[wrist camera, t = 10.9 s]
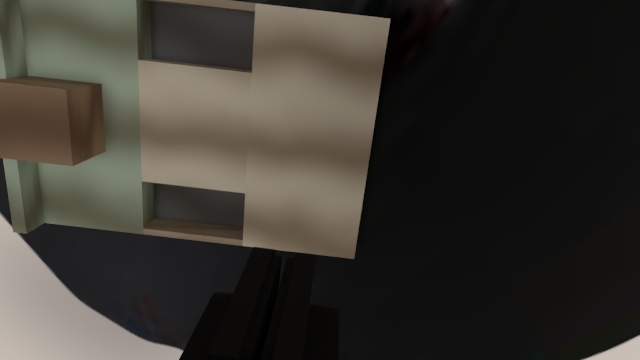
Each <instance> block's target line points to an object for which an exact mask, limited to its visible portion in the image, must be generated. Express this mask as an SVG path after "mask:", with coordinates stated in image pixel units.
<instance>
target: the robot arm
mask: <svg viewBox="0 0 640 360" xmlns="http://www.w3.org/2000/svg"><path fill="white" fill-rule="evenodd" d="M315 258H316V255H314V254H306V253H299V252H296V254H295V257H287V260H286V264H285V268H284V271H283V275H282V279H281V283H280V287H279V279H280V269H281V256H280V255H275V250H274V249H268V248H260V247H254V248H253V250H252V252H251V255H250V257H249V259H248V261H247V264H246V266H245V268H244V271H243V273H242V275H241V277H240V280H239V282H238V284H237V287H236V289H235V291H234V293H233V294H232V293H224V292H217V291H216V292H214V294H213V295H212V297H211V299H210V301H209V303H208V305H207V307H206V309H205V311H204V313H203V314H202V316H201V318H200V320H199V322H198V324H197V326H196V328H195V330H194V332H193V334H192V336H191V338H190V340H189V342H188V344H187V346H186V347H185V349H184V351H183V353H182V355H181V357H180V359H179V360H338V345H339V307H331V306H324V305H316V304H310V297H311V289H312V281H313V273H314V266H315ZM278 290H279V291H278Z"/></svg>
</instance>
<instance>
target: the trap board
mask: <svg viewBox="0 0 640 360" xmlns="http://www.w3.org/2000/svg"><path fill="white" fill-rule="evenodd" d="M389 25H390V19H389V18H380V17H371V16H363V15H354V14H345V13H336V12H328V11H319V10H310V9H301V8H293V7H284V6H275V5H266V4H257V3H249V2H240V1H231V0H0V79H5V78H16V77H26V76H37V77H46V78H55V79H64V80H72V81H81V82H90V83H99V84H102V100H103V117H104V133H105V150H106V152H103V153H101V154H99V155H97V156H95V157H92V158H90V159H88V160H86V161H83V162H81V163H79V164H77V165H75V166H66V165H57V164H48V163H39V162H31V161H22V160H13V159H5V158H3V162H4V169H5V176H6V183H7V190H8V197H9V204H10V211H11V218H12V225H13V232H17V233H26V234H27V233H28V232H30V231H32V230H33V229H35V228H37V227H38V226H40V225H42V224H43V223H51V224H60V225H68V226H77V227H85V228H94V229H102V230H111V231H120V232H128V233H137V234H145V235H154V236H163V237H171V238H180V239H188V240H197V241H205V242H214V243H223V244H231V245H240V246H248V247H260V248H268V249H274V250H283V251H291V252H300V253H309V254H317V255H326V256H334V257H343V258H351V259H354V256H355V249H356V243H357V236H358V230H359V223H360V216H361V210H362V203H363V197H364V190H365V183H366V177H367V170H368V164H369V157H370V151H371V144H372V137H373V131H374V124H375V118H376V111H377V104H378V98H379V91H380V85H381V78H382V72H383V65H384V58H385V52H386V45H387V39H388V32H389Z"/></svg>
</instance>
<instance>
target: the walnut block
mask: <svg viewBox="0 0 640 360" xmlns="http://www.w3.org/2000/svg"><path fill="white" fill-rule="evenodd" d="M103 152H106V150H105V133H104V117H103V100H102V84H99V83H90V82H81V81H72V80H64V79H55V78H46V77H37V76H26V77H16V78H5V79H0V158H5V159H13V160H22V161H31V162H39V163H48V164H57V165H66V166H75V165H77V164H79V163H81V162H83V161H86V160H88V159H90V158H92V157H95V156H97V155H99V154H101V153H103Z"/></svg>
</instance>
